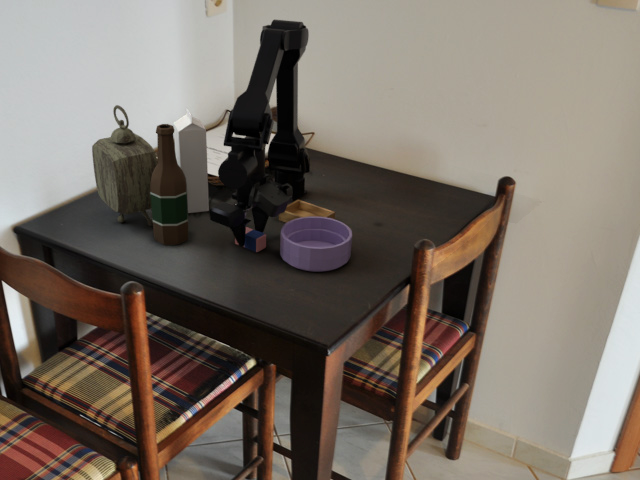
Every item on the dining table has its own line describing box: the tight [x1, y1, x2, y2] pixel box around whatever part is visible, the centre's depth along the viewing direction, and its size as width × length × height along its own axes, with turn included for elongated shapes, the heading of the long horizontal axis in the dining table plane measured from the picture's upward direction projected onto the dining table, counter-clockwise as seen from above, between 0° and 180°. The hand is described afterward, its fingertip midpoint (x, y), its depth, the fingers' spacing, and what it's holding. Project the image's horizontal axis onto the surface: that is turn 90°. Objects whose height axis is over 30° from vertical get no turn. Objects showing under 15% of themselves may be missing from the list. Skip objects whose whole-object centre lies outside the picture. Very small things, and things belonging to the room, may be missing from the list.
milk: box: [173, 107, 210, 214], centre depth 166 cm, size 6×6×22 cm
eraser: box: [234, 226, 267, 253], centre depth 157 cm, size 6×3×3 cm, turn 52°
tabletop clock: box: [91, 104, 158, 227], centre depth 159 cm, size 14×9×25 cm, turn 33°
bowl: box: [279, 216, 353, 273], centre depth 153 cm, size 14×14×6 cm
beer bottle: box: [150, 123, 190, 246], centre depth 153 cm, size 8×8×24 cm
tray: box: [278, 199, 336, 223], centre depth 167 cm, size 10×7×2 cm
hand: (250, 241), depth 157 cm, fingers open, 5 cm apart
